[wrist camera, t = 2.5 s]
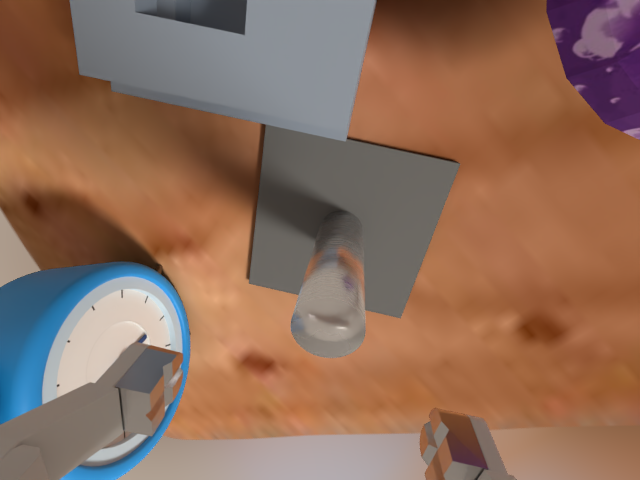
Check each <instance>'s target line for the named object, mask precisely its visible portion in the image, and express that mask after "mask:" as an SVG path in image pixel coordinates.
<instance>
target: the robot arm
mask: <svg viewBox="0 0 640 480" xmlns="http://www.w3.org/2000/svg"><path fill="white" fill-rule="evenodd" d="M182 362H183V353H180V352H177V351H172V350H168V349H164V348H160V347H156V346H152V345H148V344H144V343H139V342H134V343H132V344H131V345H129V347H128V348H127V349H126V350H125V351H124V352H123V353H122V354H121V355H120V356H119V357H118V359H117V360H116V361H115V362H114V363H113V364H112V365H111V366H110V367H109V368H108V369H107V371H106V372H105V373H104V374H103V375H102V376H101V377H100V378H99V379H98V380H97V381H96V383H92V382H89V383H87V384H85V385H83V386H81V387H79V388H77V389H74V390H72V391H70V392H68V393H66V394H64V395H62V396H60V397H58V398H55V399H53V400H51V401H49V402H47V403H45V404H43V405H41V406H39V407H37V408H34V409H32V410H30V411H28V412H26V413H24V414H22V415H20V416H18V417H15V418H13V419H11V420H9V421H7V422H5V423H3V424H1V425H0V480H60V479H61V478H62V477H64V476H65V475H66V474H68V473H69V472H70V471H72V470H73V469H75V468H76V467H77V466H79V465H80V464H81V463H83V462H84V461H86V460H87V459H88V458H90V457H91V456H92V455H94V454H95V453H96V452H98V451H99V450H101V449H102V448H103V447H105V446H106V445H107V444H109V443H110V442H112V441H113V440H114V439H116V438H117V437H118V436H120V435H121V434H123V431H126V432H132V433H137V434H142V435H147V436H153V434H154V433H155V431H156V429H157V428H158V426H159V424H160V423H161V421H162V419H163V418H164V416H165V407H166V406H167V405H169V404H171V403H172V402H173V401H174V399H175V397H176V396H177V394H178V392H179V389H180V386H181V384H182V379H183V370H182V369H181V368H180V365H181V364H182ZM429 418H430V422H428V423H426V424H424V426H423V428H422V430H421V435H420V451H421V456H422V458H423V460H424V461H425V462H426V464H427V465H428V468H427V470H426V472H425V477H426V480H516V478H515V477H514V476H512V475H508V473H507V471H506V469H505V466H504V464H503V461H502V459H501V457H500V454H499V452H498V450H497V447H496V445H495V443H494V440H493V438H492V436H491V433H490V431H489V428H488V426H487V424H486V422H485V420H484V419H483V418H479V417H475V416H470V415H465V414H462V413H457V412H452V411H447V410H442V409H438V408H434V409H432V410H431V412H430V414H429Z"/></svg>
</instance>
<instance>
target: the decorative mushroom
mask: <svg viewBox="0 0 640 480" xmlns="http://www.w3.org/2000/svg"><path fill="white" fill-rule="evenodd" d="M547 15H548V18H549V21H550V25H551V28H552V31H553V35H554V38H555V41H556V45H557V48H558V51H559V54H560V58H561V61H562V64H563V68H564V71H565V74H566V78H567V79H568V80H569V81H570V83H571V84H572V85H573V86H574V87H575V89H576V90H577V91H578V92H579V93H580V94H581V96H582V97H583V98H584V99H585V100H586V102H587V103H588V104H589V105H590V106H591V107H592V109H593V110H594V111H595V112H596V113H597V115H598V116H599V117H600V118H601V119H602V120H603V122H604V123H605V124H607V125H610V126H612V127H614V128H616V129H618V130H620V131H622V132H624V133H626V134H629V135H631V136H633V137H635V138H637V139H639V140H640V0H547Z"/></svg>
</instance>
